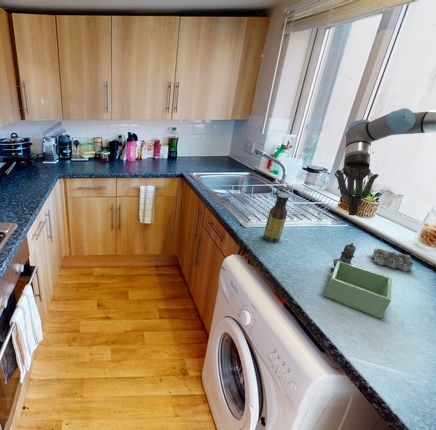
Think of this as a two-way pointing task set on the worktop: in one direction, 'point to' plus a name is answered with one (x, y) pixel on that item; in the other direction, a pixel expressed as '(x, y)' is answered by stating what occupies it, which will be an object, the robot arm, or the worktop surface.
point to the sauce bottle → (276, 219)
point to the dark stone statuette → (346, 255)
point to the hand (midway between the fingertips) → (352, 213)
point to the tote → (360, 288)
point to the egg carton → (392, 259)
